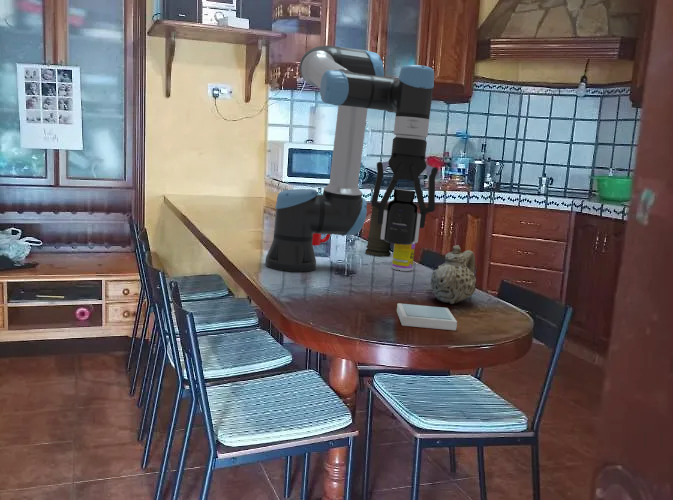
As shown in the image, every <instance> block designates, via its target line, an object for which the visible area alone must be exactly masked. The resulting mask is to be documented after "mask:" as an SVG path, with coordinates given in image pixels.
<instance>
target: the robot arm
mask: <svg viewBox="0 0 673 500" xmlns="http://www.w3.org/2000/svg"><path fill="white" fill-rule="evenodd" d="M299 73H300V75H301V77H302V79H303V80H304V81H305V82H306V83H307V84H308V85H310V86H312V87H316V88H319V90H320V91H319V92H320V93H319V95H320V99H321V101H322V102H323V103H324V104H329V105H333V106H336V107H337V106H338V107H337V115H336V116H337V117H336V125H335V131H334V140H333V150H332V158H331V166H330V167H331V168H330V173H329V174H330V177H329V182H328V184H327V185H326V186H325V187H324V188H323V191H322V192H323V193H322V194H318V191H317V190H316V189H312V188H295V189H285V190H281V191H280V192H278V194H277V197H276V203H275V216H274V218H275V219H274V227H273V228H274V230H273V239H272V242H271V245H270V247H269V249H268V252H267V254H266V256H265V266H266V267H268V268H271V269H274V270H279V271H284V272H285V271H286V272H296V273H297V272H298V273H299V272H302V273H304V272H311V271H315V270H316V268H317V259H316V254H315V250H314V245H312V239H313V233H317V234H321V235H327V234H331V235H333V236H334V235H335V236H336V235H337V236H342V237H344V236H355V235H358V233H360V231H361V230H362V229H363V227H364V224H365V223H366V217H367V213H368V208H367V207H368V206H367V205H368V204H367V200H366V199H365V198H364V197H362V196H363V192H362V191H361V189H360V187H359V182H360V181H359V180H360V172H361V164H362V163H361V162H362V156H363V150H364V149H363V148H364V139H365V133H366V124H367V123H366V122H367V115H368V110H369V109H370V110H377V111H386V112H388V113H394V114H395V117H394V124H393V126H394V127H393V135H394V136H395V137H393V139H392V146H391V153H390V154H391V155H390V157H389V159H388V161H382V162H380V161H378V162H377V163H376V169H377V173H376V180H375V184H374V187H373V192H372V196H371V202H370V204H371V205H372V206H374V207H376V208H378V219H377V221H378V224H382V228H381V237H380V238H381V239H383V240H384V238H385V229H386V219H387V210H384V208H385V206H386V204H388V203H389V202H388V201H390V197H391V195H392V193H394V189H395V188H396V185H397V184H398V181H399V180H402V181H403V180H408V181H412V183H413V188H414V191H415V196H416V197H415V198H416V200H417V206H418V208H419V212H417V218H416V226H415V233H414V240H413V241H414V243H415V244H417V243H419V237H420V235H419V234H420V229H424V228H425V224H426V218H427V217H426V216H427V214H429V213H433V212H435V210H436V207H435V206H436V203H435V202H436V176H437V174H438V171H439V169H438V168H437V167H435V166H431V165H428V164H427V162H426V154H427V153H426V152H427V146H428V145H427V140H425V138H426V139H427V138H428V135H429V127H430V126H429V125H430V117H431V109H432V101H433V92H434V88H435V87H434V86H435V82H434V81H435V70H434V69H433V67H430V66H427V65H421V64H420V65H419V64H404V65H402V66H401V68H400V72H399V75H398V77H397V78H395V77H388V76H385V69H384V63H383V60H382V58H381V56H380V55H379V54H378V53H376V52H375V51H374V52H373V51H370V50H365V49H358V48H351V47H350V48H349V47H342V46H336V45H319V46H315V47H313V48H311V49H309V50H308V51H307V52H305V53H304V54H303V56H301V59H300V61H299ZM387 167H389V168H390V170H391V171H392V173H393V175H392V177H391V180H390V182H389V184H388V186H387V188H386V190H385V192H384V194H383V195H382V198H381V201H380V202H379V201H378V200H379V196H380V192H381V186H382V182H383V176H384V172H386V171H387ZM424 171H426V175H427V176H428V182H427V183H428V185H427V186H428V190H427V199H428V200H427V206H426V203H425V200H424V199H425V198H424V196H423V191H422V188H421V182H420V178H419V177H420V176H421V174H422V173H424ZM372 206H371V207H372Z"/></svg>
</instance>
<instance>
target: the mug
mask: <svg viewBox="0 0 673 500" xmlns="http://www.w3.org/2000/svg"><path fill="white" fill-rule="evenodd" d="M331 235H332V234H325V237H324V238H322V234H317V233H313V239H312V245H313V246H320V245H321V243H326V242H328V241H329V239H330V238H331Z"/></svg>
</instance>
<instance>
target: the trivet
mask: <svg viewBox="0 0 673 500" xmlns="http://www.w3.org/2000/svg"><path fill="white" fill-rule="evenodd" d="M396 305H397V307H396V314H397V317H398V318H399V321H400V324H401V326H403V327H413V328H414V327H417V328H425V329H436V330H437V329H438V330H445V331H446V330H448V331H457V327H458V321H457V320H456V317H454V315H453V314H452V312H451V311H450V309H449V308H448V307H441V306H431V305H421V304H412V303H411V304H410V303H409V304H408V303H400V302H399V303H397V304H396Z"/></svg>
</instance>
